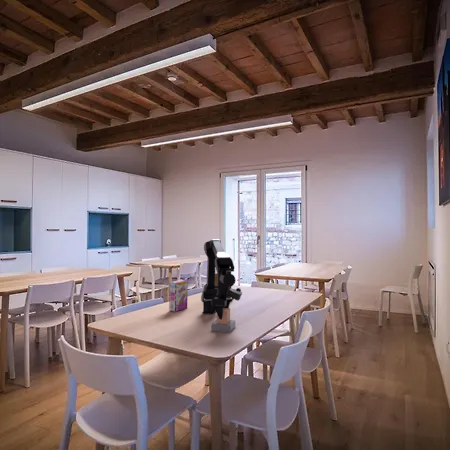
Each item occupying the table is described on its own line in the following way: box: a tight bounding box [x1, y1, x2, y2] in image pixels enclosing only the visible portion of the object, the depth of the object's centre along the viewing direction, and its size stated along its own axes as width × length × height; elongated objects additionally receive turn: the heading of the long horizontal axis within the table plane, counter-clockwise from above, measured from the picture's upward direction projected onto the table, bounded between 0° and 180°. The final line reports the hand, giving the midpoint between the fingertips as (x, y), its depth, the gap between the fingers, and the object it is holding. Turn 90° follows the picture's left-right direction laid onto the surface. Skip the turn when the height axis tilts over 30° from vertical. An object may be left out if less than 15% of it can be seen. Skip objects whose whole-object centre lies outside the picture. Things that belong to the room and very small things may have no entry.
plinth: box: [210, 319, 236, 333], centre depth 154 cm, size 9×9×3 cm
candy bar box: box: [168, 279, 189, 313], centre depth 191 cm, size 11×5×16 cm, turn 149°
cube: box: [216, 307, 231, 324], centre depth 154 cm, size 5×5×6 cm
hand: (223, 316), depth 154 cm, fingers open, 9 cm apart
